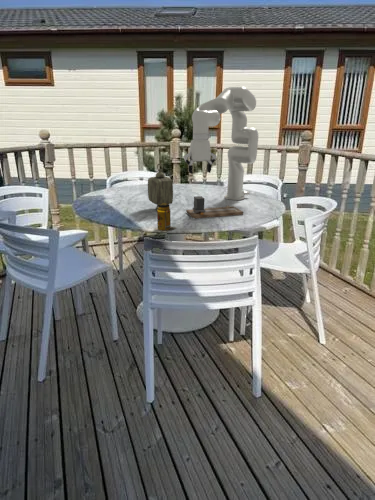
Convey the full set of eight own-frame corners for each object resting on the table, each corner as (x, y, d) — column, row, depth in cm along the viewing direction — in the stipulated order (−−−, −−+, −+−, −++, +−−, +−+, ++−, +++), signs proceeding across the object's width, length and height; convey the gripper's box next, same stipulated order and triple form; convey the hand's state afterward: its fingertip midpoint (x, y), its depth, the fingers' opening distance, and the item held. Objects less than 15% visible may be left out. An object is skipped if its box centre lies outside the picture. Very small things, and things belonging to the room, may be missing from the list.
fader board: (233, 208, 201) (233, 204, 200) (243, 214, 190) (243, 210, 190) (186, 212, 193) (186, 208, 192) (193, 218, 182) (193, 214, 181)
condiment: (153, 229, 165) (153, 204, 161) (166, 225, 171) (165, 200, 167) (165, 232, 161) (164, 206, 157) (177, 228, 167) (177, 203, 163)
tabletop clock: (173, 211, 194) (173, 165, 185) (157, 213, 190) (156, 166, 181) (162, 205, 206) (161, 161, 197) (147, 207, 202) (146, 162, 193)
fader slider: (201, 209, 192) (201, 195, 189) (205, 212, 186) (205, 198, 184) (192, 209, 190) (192, 196, 187) (196, 212, 185) (196, 199, 182)
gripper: (214, 136, 180) (212, 170, 187) (181, 137, 175) (181, 172, 182) (219, 137, 174) (218, 173, 180) (186, 138, 169) (185, 174, 175)
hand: (199, 172), depth 181 cm, fingers open, 9 cm apart
